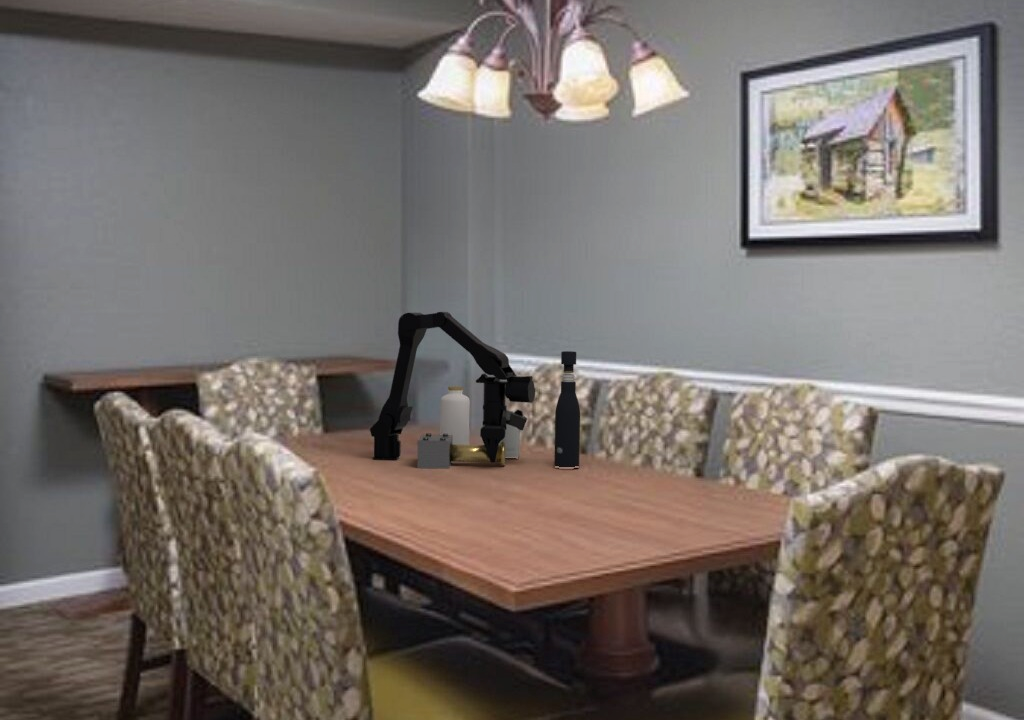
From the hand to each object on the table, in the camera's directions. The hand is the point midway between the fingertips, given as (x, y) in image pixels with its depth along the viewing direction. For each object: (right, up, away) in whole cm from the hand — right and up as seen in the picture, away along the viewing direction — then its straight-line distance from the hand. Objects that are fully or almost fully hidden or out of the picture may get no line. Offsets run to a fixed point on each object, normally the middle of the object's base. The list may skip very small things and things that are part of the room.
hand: (493, 461), depth 292 cm
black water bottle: (+19, -2, -1) cm, 19 cm away
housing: (-15, -1, 0) cm, 15 cm away
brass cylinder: (-5, -1, 0) cm, 5 cm away
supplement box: (+3, -1, +16) cm, 16 cm away
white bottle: (-12, 0, +29) cm, 31 cm away
